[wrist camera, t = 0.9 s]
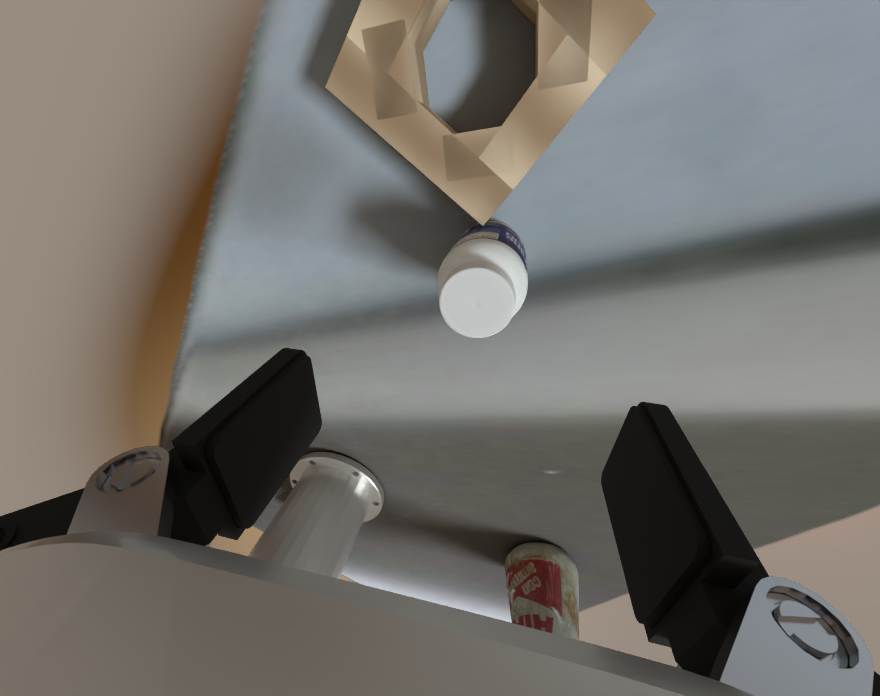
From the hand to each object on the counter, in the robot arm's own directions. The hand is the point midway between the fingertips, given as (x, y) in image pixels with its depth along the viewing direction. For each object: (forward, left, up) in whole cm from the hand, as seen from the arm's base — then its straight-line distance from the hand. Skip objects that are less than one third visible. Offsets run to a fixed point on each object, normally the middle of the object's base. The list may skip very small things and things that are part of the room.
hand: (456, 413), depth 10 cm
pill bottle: (0, 0, -19) cm, 19 cm away
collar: (+8, +8, -18) cm, 22 cm away
